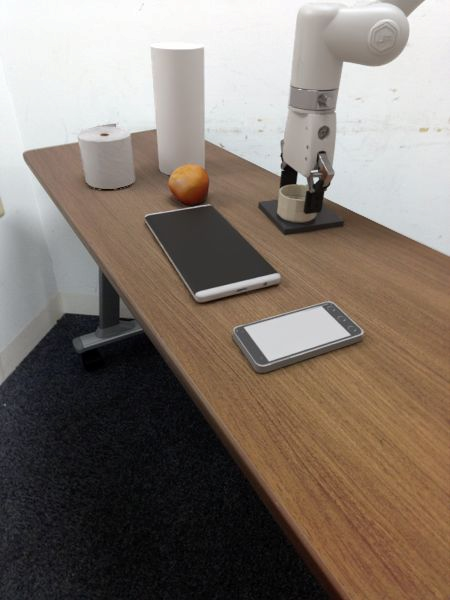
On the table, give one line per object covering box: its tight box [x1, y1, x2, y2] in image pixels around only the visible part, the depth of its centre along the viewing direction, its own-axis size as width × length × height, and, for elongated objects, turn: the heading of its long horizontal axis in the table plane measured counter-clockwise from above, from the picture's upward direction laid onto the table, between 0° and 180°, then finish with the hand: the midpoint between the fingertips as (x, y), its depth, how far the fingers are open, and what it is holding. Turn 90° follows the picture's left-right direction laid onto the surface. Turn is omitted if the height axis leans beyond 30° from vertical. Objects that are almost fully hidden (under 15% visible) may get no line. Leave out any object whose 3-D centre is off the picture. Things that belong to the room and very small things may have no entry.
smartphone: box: [232, 300, 364, 374], centre depth 53 cm, size 7×1×15 cm
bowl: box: [277, 184, 317, 223], centre depth 77 cm, size 7×7×4 cm
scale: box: [257, 199, 345, 236], centre depth 80 cm, size 12×12×3 cm
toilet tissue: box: [76, 122, 137, 188], centre depth 90 cm, size 11×12×10 cm
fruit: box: [168, 164, 210, 206], centre depth 84 cm, size 8×8×8 cm
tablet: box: [144, 204, 282, 303], centre depth 69 cm, size 13×27×2 cm, turn 24°
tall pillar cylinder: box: [150, 41, 206, 176], centre depth 93 cm, size 11×11×25 cm
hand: (299, 201), depth 77 cm, fingers open, 9 cm apart
